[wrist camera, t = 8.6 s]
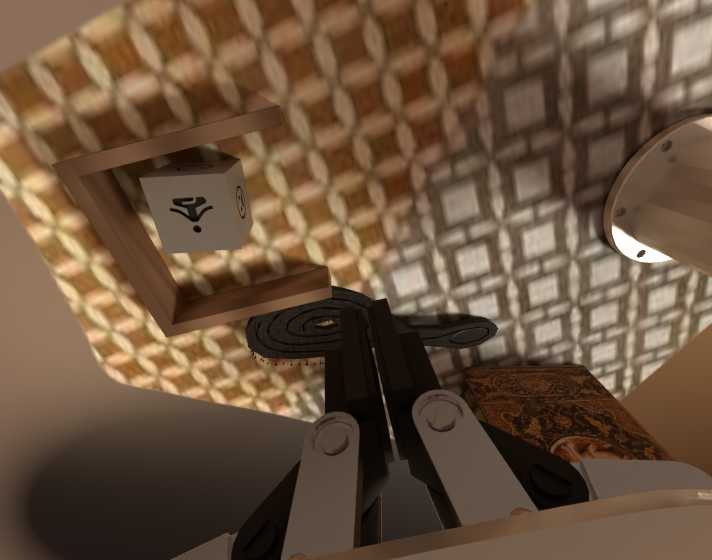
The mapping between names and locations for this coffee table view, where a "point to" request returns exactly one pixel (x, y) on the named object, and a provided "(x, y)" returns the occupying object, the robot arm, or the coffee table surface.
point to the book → (559, 412)
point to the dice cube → (199, 205)
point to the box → (141, 257)
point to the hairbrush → (316, 339)
